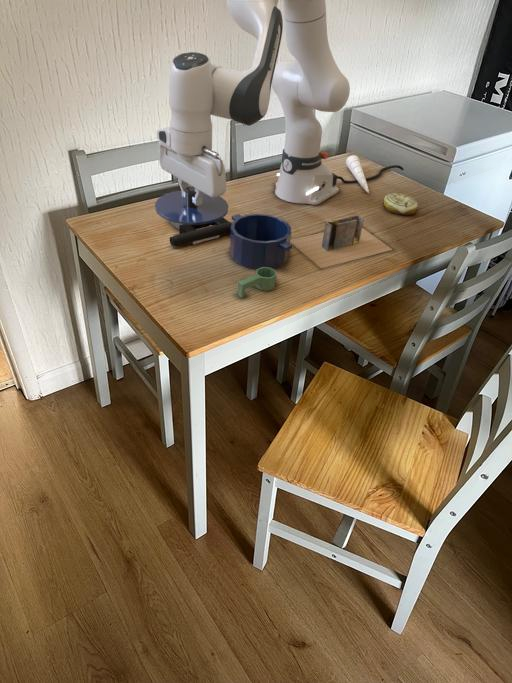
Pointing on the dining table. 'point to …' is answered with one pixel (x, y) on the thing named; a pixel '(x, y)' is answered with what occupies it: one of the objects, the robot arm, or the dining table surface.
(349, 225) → the ruin model on sheet
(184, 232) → the door handle
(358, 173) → the unicorn horn
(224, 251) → the dining table surface
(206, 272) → the dining table surface
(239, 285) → the scoop
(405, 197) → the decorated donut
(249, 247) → the pot
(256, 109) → the robot arm
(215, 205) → the lid
